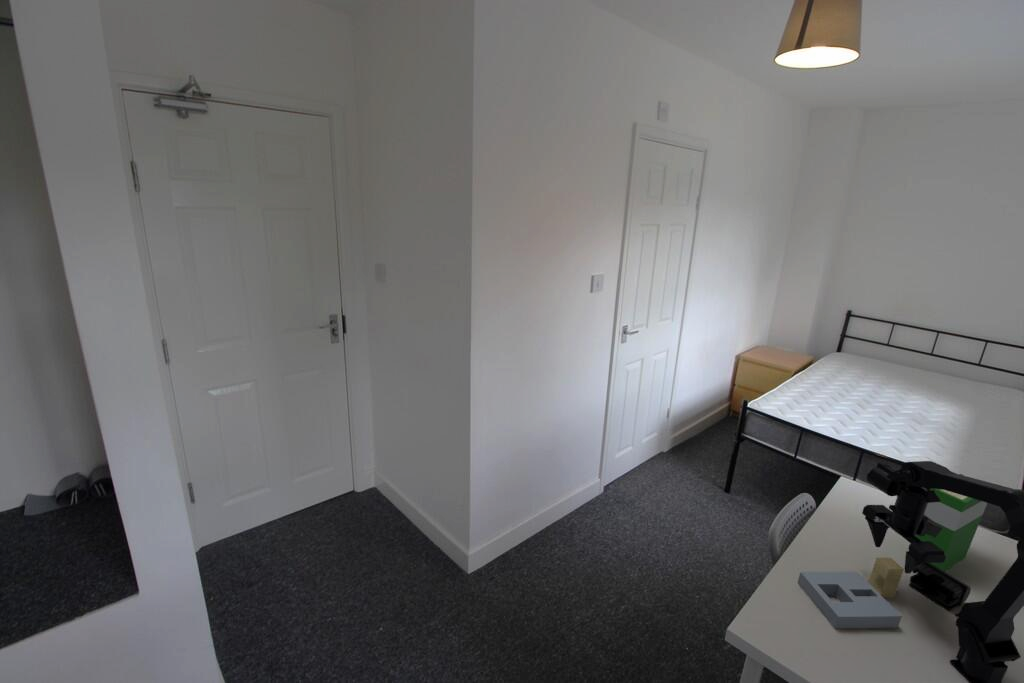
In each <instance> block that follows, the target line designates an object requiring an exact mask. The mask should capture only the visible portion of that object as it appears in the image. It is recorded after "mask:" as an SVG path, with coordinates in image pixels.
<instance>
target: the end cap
mask: <svg viewBox="0 0 1024 683" xmlns="http://www.w3.org/2000/svg"><path fill="white" fill-rule="evenodd" d="M912 573H913V575H912V576H910V577H909V578H910V579H909V584H908V586H909V588H911V589H913V590H914V591H916V592H917V593H919V594H921V595H922V596H924V597H925V598H927V600H928V599H929V601H931V602H933V603H934V604H936V605H938V606H939V607H941V608H943V609H944V610H945V611H948V612H950V611H952V610H954V609H955V608H958V607H960V606H961V607H962V606H963V605H964V604H965V603H966V601H967V599H968V598H969V596H970V594H971V591H972V589H971V587H970V585H968V584H966V583H965V582H963V581H961V580H960V579H958V578H956V577H954V576H953V575H951V574H950V573H948V572H946V571H945V572H944V571H943V570H941V569H939V568H938V567H936V566H934V565H932V564H931V563H922V564H921V565H920V566H918V567H917V568H916V569H915V570H913V571H912Z"/></svg>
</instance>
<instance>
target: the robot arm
mask: <svg viewBox="0 0 1024 683" xmlns="http://www.w3.org/2000/svg"><path fill="white" fill-rule="evenodd" d="M959 474H960V473H956V472H953V471H952V470H950V469H949V468H947V467H946V466H944V465H942V464H939V463H936V462H934V461H931V460H921V461H920V460H918V461H917V460H916V461H906V462H904V463H903V464H902V465H901V468H900V469H895V468H893V467H892V466H890V465H889V464H888V463H886V462H877V464H876V466H874V467H873V468H872V469H871V470H870V471H868V473H867V475H866V481H867V483H868V484H870V485H871V486H873V487H875V488H876V489H878V490H879V491H881V492H883V493H884V494H886V495H887V496H889V497H894V496H895V497H896V496H897V497H896V498H895V502H894V504H889V506H888V507H887V506H886V505H884V504H866V505H865V506H864V507H863V508H862V512H861V514H862V515H863V516H865V517H864V519H865V520H866V521H867V524H868V527H869V530H870V533H871V536H872V539H873V543H874V546H875V547H876V548H880V547H881V546H882V544H883V542H884V540H885V537H886V535H887V532H888V529H890V530H892V531H893V532H895V534H897V535H899V536H901V537H902V538H903V539H904V540H905V541H907V542H908V543H909V545H908V550H906V551H905V561H904V573H905V574H911V573H913V570H915V569H916V568H917V567H918V566H920V565H921V564H922V563H944V561H945V559H946V553H945V552H944V551H943V550H942V549H940V548H939V547H938V546H936V545H935V544H934V543H932V542H931V541H921V540H920V539H918V538H917V537H916V535H919V536H925V534H928V535H930V536H932V537H933V538H936V537H937V536H938V534H939V533H940V532H941V530H942V529H943V528H942V527H941V526H940V525H938V524H937V523H936V522H934V521H933V520H931V519H930V518H928V517H927V516H925V515H924V513H925V510H926V508H927V505H928V503H934V502H940V501H941V500H940V499H939V497H938V496H937V495H936V494H935V491H934V490H931V488H932V489H942V490H947V491H950V492H953V493H956V494H960V495H963V496H966V497H970V498H973V499H976V500H980V501H983V502H986V503H987V504H991V505H992V506H993V505H994V506H996V507H999V508H1000V509H1001V510H1002V511H1003V513H1004V514H1005V517H1006V520H1007V522H1008V525H1009V527H1010V528H1011V530H1012V531H1013V532H1014V534H1015V535H1016V536H1017V537H1018V538H1019V539H1018V541H1017V543H1016V550H1017V558H1016V559H1015V561H1014V562H1013V563H1012V564H1011V566H1010V567H1009V568H1008V570H1007V571H1006V573H1005V574H1004V575H1003V576H1002V578H1000V580H999V581H998V583H997V584H996V585H995V587H994V588H993V589H992V590H991V592H990V593H989V594H988V596H987V597H986V598H985V600H982V601H981V600H980V601H973V602H972V601H971V602H964V603H963V604H962V605H961V609H960V611H959V612H958V613H955V614H954V616H955V617H957V618H956V620H955V626H956V627H957V635H958V647H959V648H958V651H957V653H956V656H955V659H950V660H949V663H950V664H951V665H952V666H953V667H954V668H955V669H956V670H957V671H958V672H959V673H960V674H961V675H962V676H963V677H964V678H965V679H966V680H968V682H969V683H1002V681H1003V679H1004V677H1005V675H1006V672H1007V670H1008V668H1009V666H1008V665H1007V664H1006V662H1007V663H1008V662H1015V661H1017V660H1019V659H1021V654H1020V652H1019V650H1018V648H1017V646H1016V643H1015V642H1014V640H1013V639H1012V636H1013V634H1014V631H1015V623H1014V618H1015V616H1017V614H1018V613H1019V612H1020V611H1021V609H1022V608H1023V607H1024V490H1023V489H1019V488H1011V487H1010V486H1009V487H1007V486H1004V485H1001V484H997V483H993V482H989V481H986V480H982V479H978V478H975V477H974V478H973V477H971V476H965V475H964V474H962V475H959ZM963 475H964V476H963ZM927 489H930V490H927Z"/></svg>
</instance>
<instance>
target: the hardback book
mask: <svg viewBox="0 0 1024 683" xmlns="http://www.w3.org/2000/svg"><path fill="white" fill-rule="evenodd" d="M958 474H959V475H963V476H965V474H962V473H958ZM930 490H934V491H935V494H936V495H937V496H938V497H939V499H940V500H941V501H940V502H934V503H928V505H927V508H926V510H925V513H924V515H925V516H927V517H928V518H930V519H931V520H933V521H934V522H936V523H937V524H938V525H940V526H941V527H942V528H943V529H942V530H941V532H940V533H939V534H938V536H937V537H936V538H933V537H932V536H930V535H928V534H925V536H919V535H916V537H917V538H918V539H920V540H921V541H931V542H932V543H934V544H935V545H936V546H938V547H939V548H940V549H942V550H943V551H944V552H945V553H946V559H945V561H944V563H931V564H932V565H934V566H936V567H938V568H939V569H941V570H943V571H944V572H946V571H947V570H949V569H950V568H952V567H954V566H955V565H956V564H958V563H959V562H961V561H963V560H964V559H966V557H967V554H968V552H969V550H970V547H971V544H972V542H973V540H974V538H975V534H976V532H977V531H978V530H977V529H978V527H979V525H980V522H981V519H982V517H983V515H984V513H985V510H986V508H987V505H988V503H986V502H983V501H980V500H976V499H973V498H970V497H966V496H963V495H960V494H956V493H953V492H950V491H947V490H942V489H932V488H930Z"/></svg>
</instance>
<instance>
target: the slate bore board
mask: <svg viewBox="0 0 1024 683" xmlns="http://www.w3.org/2000/svg"><path fill="white" fill-rule="evenodd" d="M868 582H869V581H867V580H866V579H865V578H864V577H863V576H862V575H861V574H860V572H859V571H800V572H799V575H798V580H797V584H798V585H799V587H800V588H801V589H802V590H803V591H804V593H805V594H806V596H808V597H809V599H810V600H811V601H812V602H813V603H814V605H815V606H816V607H817V608H818V610H819V611H820V612H821V613H822V615H823V616H824V617H825V618H826V619H827V621H828V622H829V623H830V624H831V626H832V627H833V629H871V628H872V629H881V628H882V629H886V628H887V629H891V628H892V629H894V628H895V629H896V628H899V625H900V622H901V621H902V620H901V619H902V615H901V614H900V613H899V612H898V610H896V609H895V608H894V607H893V606H892V604H890V603H889V601H887V600H886V599H885V597H882V596H881V595H880V594H879V593H878V592H877V591H876V590H875V589H874V588H873V587H872V586H871V585H870V584H869V583H868ZM829 596H835V598H836V599H838V601H832V599H831V598H830V597H829Z"/></svg>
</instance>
